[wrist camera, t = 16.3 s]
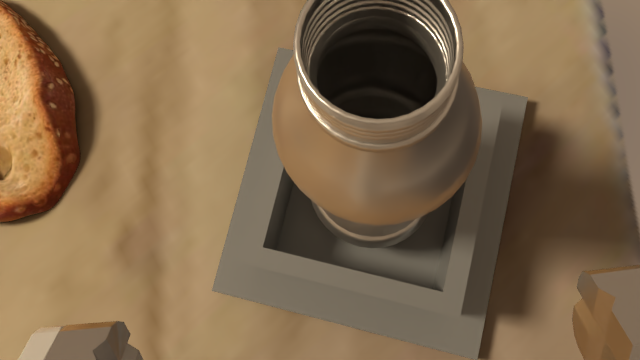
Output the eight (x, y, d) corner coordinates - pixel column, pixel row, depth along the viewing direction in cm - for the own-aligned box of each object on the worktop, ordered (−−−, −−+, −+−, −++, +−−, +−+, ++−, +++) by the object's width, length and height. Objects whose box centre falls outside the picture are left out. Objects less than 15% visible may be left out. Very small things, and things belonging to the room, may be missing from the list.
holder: (474, 358, 30) (494, 372, 25) (215, 290, 32) (189, 292, 27) (523, 101, 32) (551, 70, 27) (280, 52, 34) (266, 16, 29)
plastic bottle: (385, 115, 32) (415, -152, 12) (451, 212, 30) (605, 88, 11) (292, 173, 32) (169, -1, 12) (354, 274, 30) (331, 261, 11)
